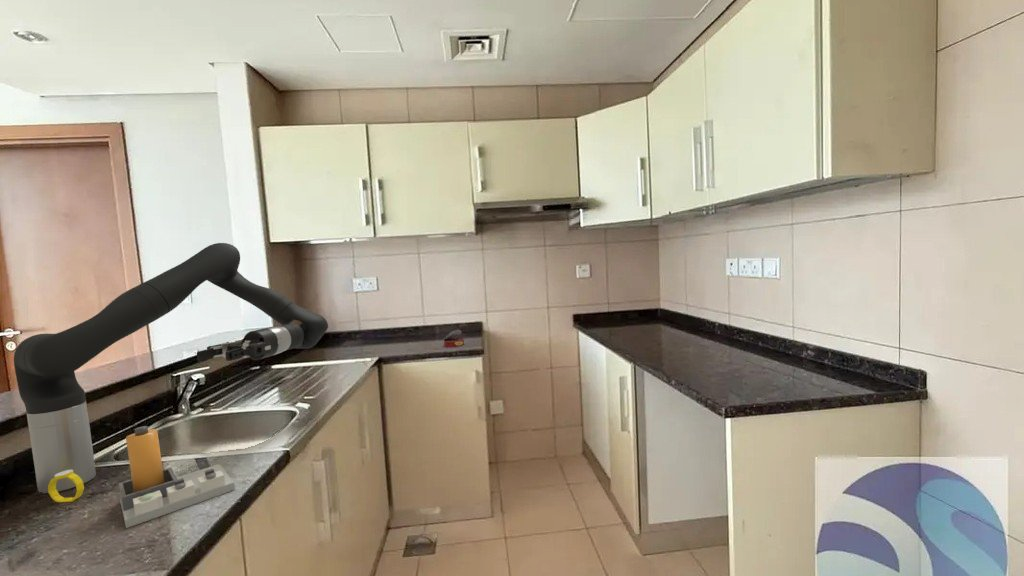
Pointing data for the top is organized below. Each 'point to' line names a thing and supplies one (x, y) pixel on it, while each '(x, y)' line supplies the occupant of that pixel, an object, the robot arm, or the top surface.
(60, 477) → the watch
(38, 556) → the top surface
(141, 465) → the orange thermos flask
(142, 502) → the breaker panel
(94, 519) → the top surface
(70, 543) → the top surface
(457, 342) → the canned food
